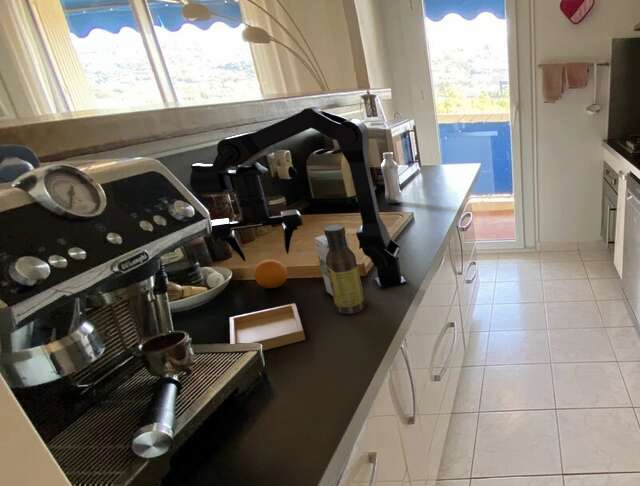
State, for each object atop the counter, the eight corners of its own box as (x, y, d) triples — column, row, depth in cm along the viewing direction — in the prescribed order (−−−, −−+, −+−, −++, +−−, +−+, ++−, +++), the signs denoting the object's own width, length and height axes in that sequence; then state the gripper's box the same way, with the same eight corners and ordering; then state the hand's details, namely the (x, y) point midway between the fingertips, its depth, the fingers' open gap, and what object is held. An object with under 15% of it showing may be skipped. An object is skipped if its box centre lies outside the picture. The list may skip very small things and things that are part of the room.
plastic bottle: (400, 205, 181) (394, 154, 172) (383, 205, 181) (376, 154, 173) (404, 201, 187) (398, 151, 178) (388, 200, 187) (381, 151, 178)
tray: (305, 339, 91) (303, 330, 90) (233, 358, 85) (230, 348, 84) (297, 311, 101) (295, 303, 100) (232, 326, 95) (229, 317, 94)
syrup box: (358, 292, 111) (348, 236, 104) (335, 300, 107) (323, 243, 100) (348, 285, 114) (337, 231, 108) (325, 292, 110) (313, 237, 104)
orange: (291, 289, 112) (285, 262, 109) (259, 295, 108) (251, 268, 105) (288, 278, 117) (282, 253, 114) (257, 284, 114) (249, 258, 111)
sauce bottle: (342, 302, 106) (326, 221, 97) (369, 302, 106) (355, 222, 97) (331, 315, 100) (313, 231, 91) (359, 316, 100) (343, 231, 91)
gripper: (290, 182, 113) (303, 240, 120) (201, 191, 104) (221, 253, 111) (295, 191, 105) (309, 253, 111) (199, 202, 96) (221, 269, 102)
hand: (266, 256), depth 109 cm, fingers open, 9 cm apart
